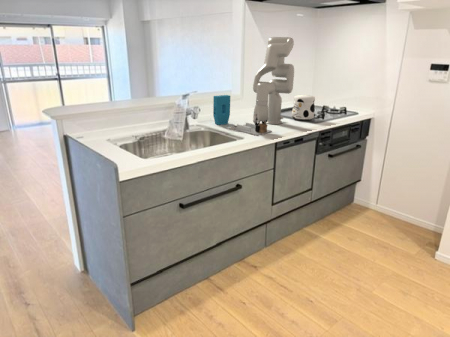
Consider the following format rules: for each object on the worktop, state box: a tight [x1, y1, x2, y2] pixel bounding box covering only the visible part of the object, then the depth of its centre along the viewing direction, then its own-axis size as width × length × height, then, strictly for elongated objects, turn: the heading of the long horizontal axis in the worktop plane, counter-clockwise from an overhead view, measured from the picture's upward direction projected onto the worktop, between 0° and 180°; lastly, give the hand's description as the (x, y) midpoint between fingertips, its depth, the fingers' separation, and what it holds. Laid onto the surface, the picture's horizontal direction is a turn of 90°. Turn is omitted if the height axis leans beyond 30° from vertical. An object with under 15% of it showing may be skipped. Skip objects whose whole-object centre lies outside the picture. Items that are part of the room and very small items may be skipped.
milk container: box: [291, 94, 316, 121], centre depth 261 cm, size 17×17×18 cm
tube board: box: [229, 122, 273, 137], centre depth 224 cm, size 16×24×3 cm, turn 45°
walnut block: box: [259, 122, 268, 133], centre depth 217 cm, size 5×5×5 cm
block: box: [212, 94, 231, 126], centre depth 239 cm, size 12×5×20 cm, turn 125°
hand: (260, 130), depth 219 cm, fingers closed on walnut block, 5 cm apart
